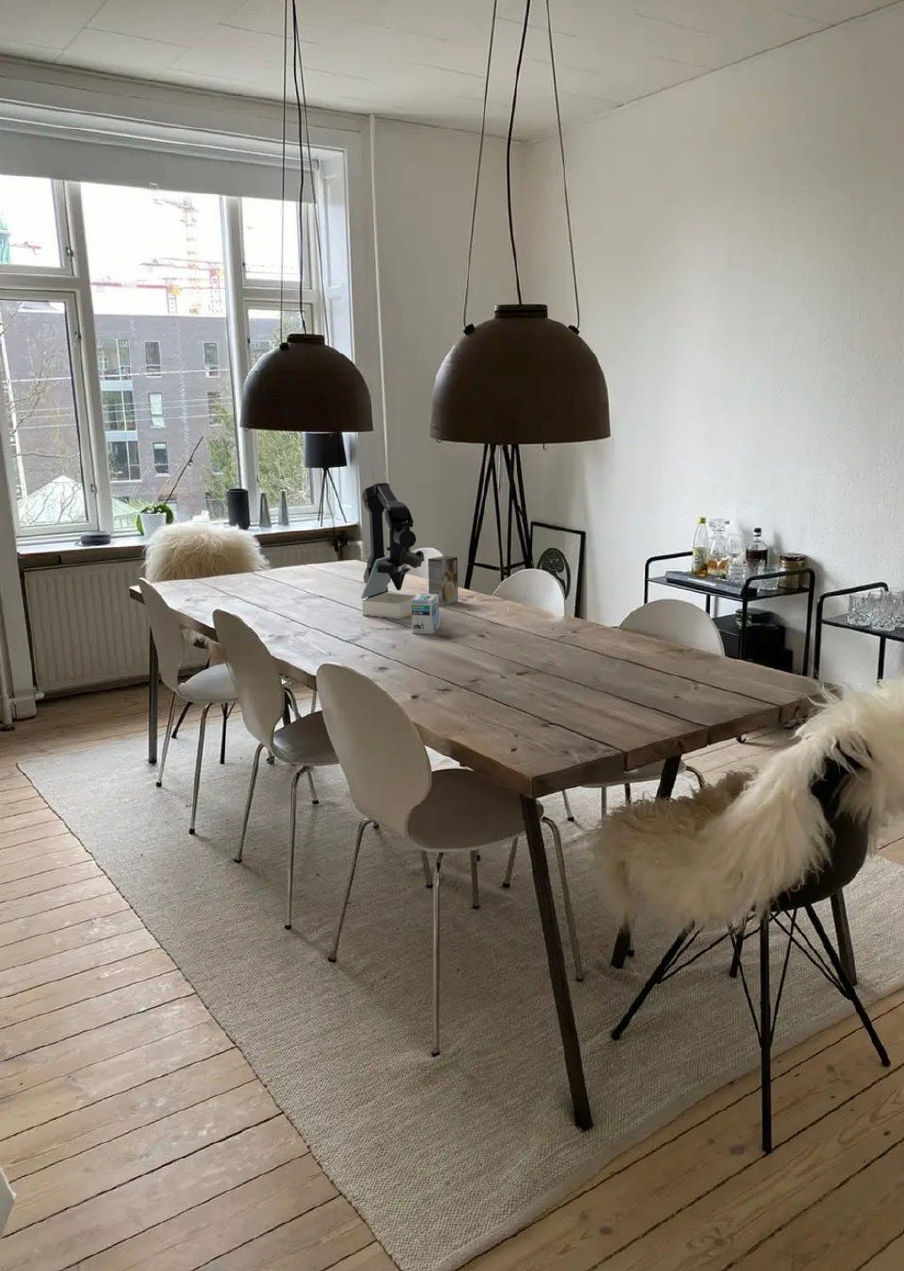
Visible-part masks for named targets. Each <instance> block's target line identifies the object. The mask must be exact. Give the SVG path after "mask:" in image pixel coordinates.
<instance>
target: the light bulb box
mask: <svg viewBox="0 0 904 1271" xmlns="http://www.w3.org/2000/svg"><path fill="white" fill-rule="evenodd" d="M416 595H417V596H415V597H414V598H413V599H412V600H411V603H412V614H411V633H412V634H423V635H433V634H434V633H436V631H437V630H438V629H439V628H440V605H439V594H429V593H425V592H423V593H422V592H421V593H420V592H418V594H416Z"/></svg>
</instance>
